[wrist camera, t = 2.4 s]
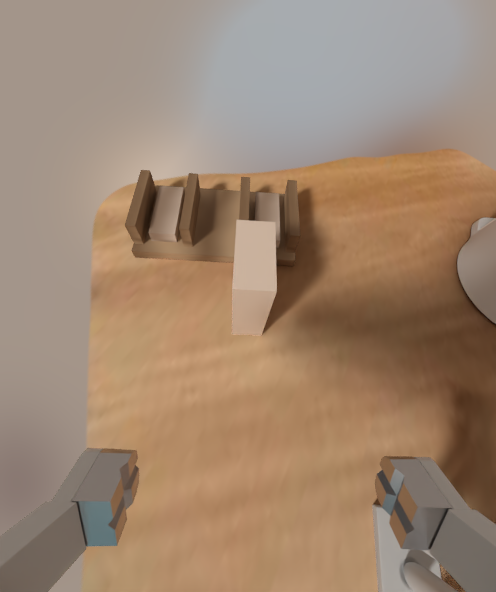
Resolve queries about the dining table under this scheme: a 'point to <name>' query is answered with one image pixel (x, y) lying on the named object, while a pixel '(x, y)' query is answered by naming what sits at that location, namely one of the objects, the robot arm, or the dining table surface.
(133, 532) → the dining table surface
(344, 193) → the dining table surface
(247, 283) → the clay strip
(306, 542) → the dining table surface
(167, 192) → the slotted holder block
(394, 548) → the test tube rack
